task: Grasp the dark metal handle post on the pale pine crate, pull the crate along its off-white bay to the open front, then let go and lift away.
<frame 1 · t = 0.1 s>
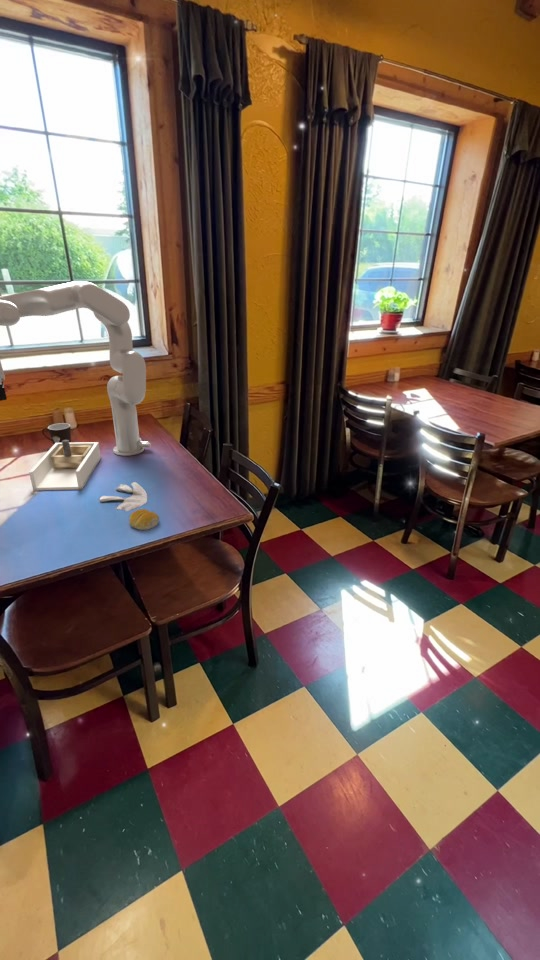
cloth: (123, 497, 153), on the table
coffee mug: (61, 448, 189), on the table
bay: (69, 473, 167), on the table
crate: (71, 450, 169), point 7 cm above the table, slide at 0.0 cm
bread roll: (144, 523, 137), on the table
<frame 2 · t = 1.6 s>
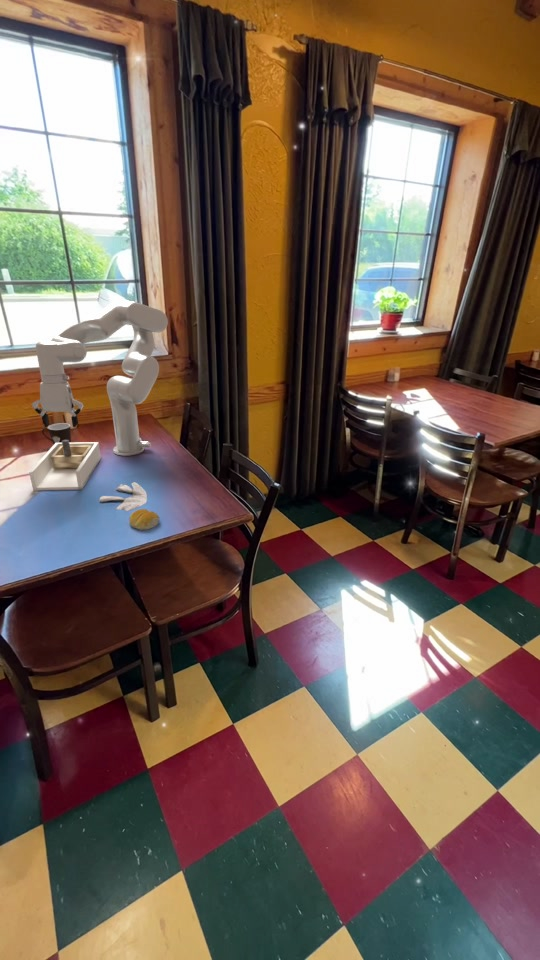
hand: (61, 426, 160), 18 cm above the table, tool pointing down, fingers open, 9 cm apart
nothing on the table moved.
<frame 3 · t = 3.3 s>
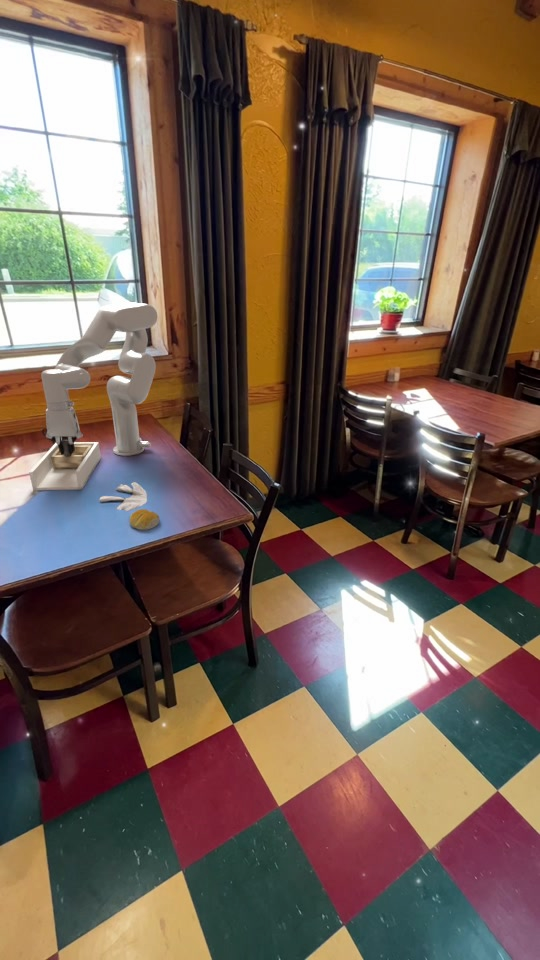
hand: (67, 452, 165), 8 cm above the table, tool pointing down, fingers closed on crate, 2 cm apart
crate: (71, 450, 169), point 7 cm above the table, slide at 0.0 cm, touching gripper
everything else where it was.
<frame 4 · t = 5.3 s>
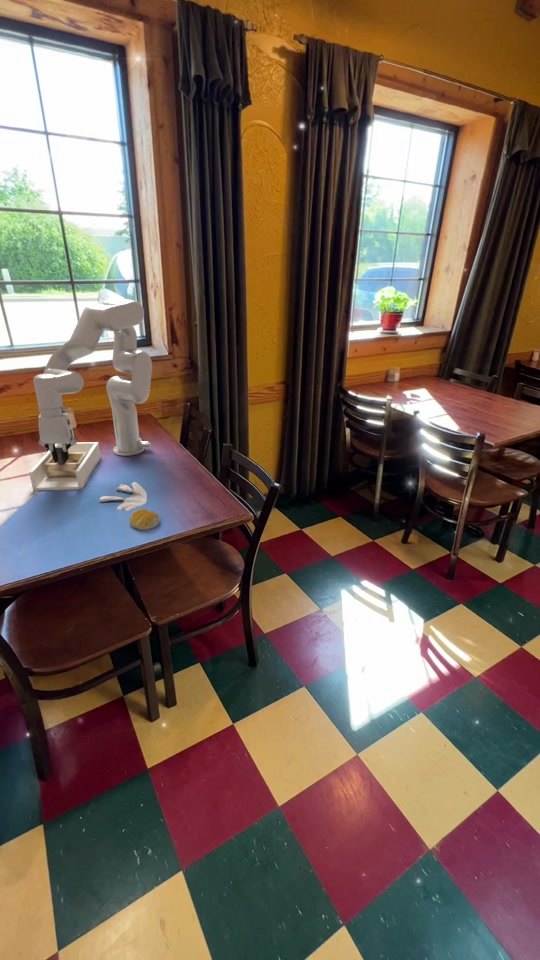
hand: (61, 460, 158), 8 cm above the table, tool pointing down, fingers closed on crate, 2 cm apart
crate: (65, 457, 163), point 7 cm above the table, slide at 7.2 cm, touching gripper
everything else where it was.
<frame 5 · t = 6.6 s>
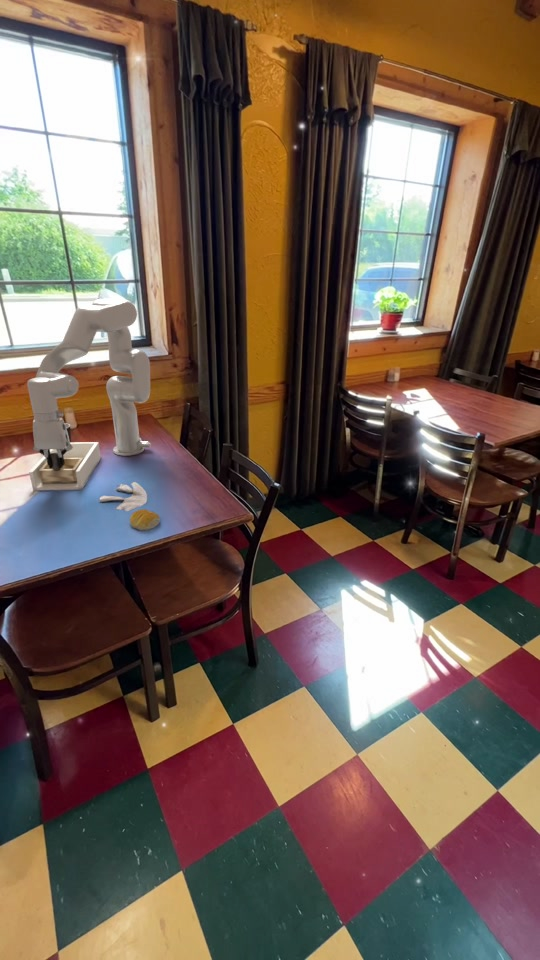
hand: (56, 466, 154), 8 cm above the table, tool pointing down, fingers closed on crate, 2 cm apart
crate: (61, 462, 158), point 7 cm above the table, slide at 12.4 cm, touching gripper
everything else where it was.
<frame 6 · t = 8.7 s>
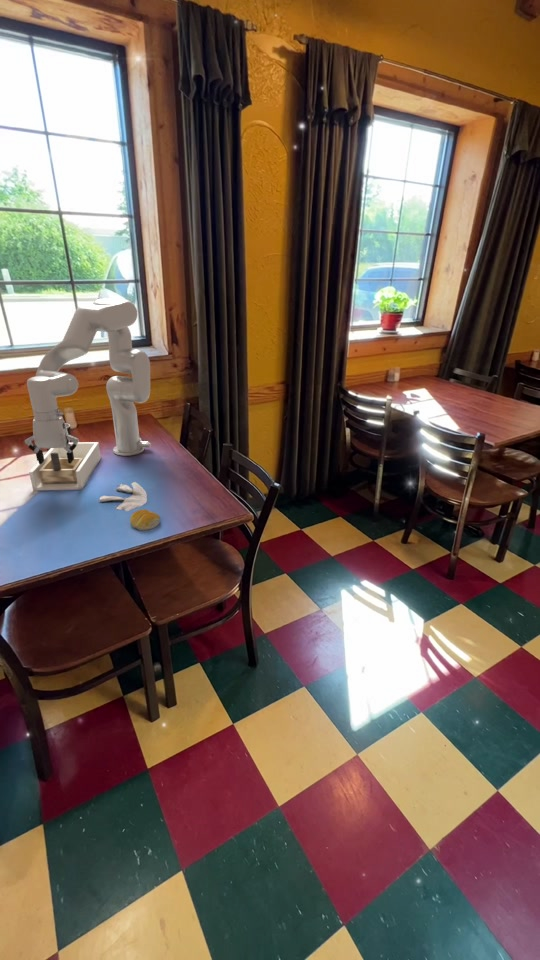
hand: (56, 462, 153), 9 cm above the table, tool pointing down, fingers open, 9 cm apart
crate: (61, 463, 158), point 7 cm above the table, slide at 12.5 cm
everything else where it was.
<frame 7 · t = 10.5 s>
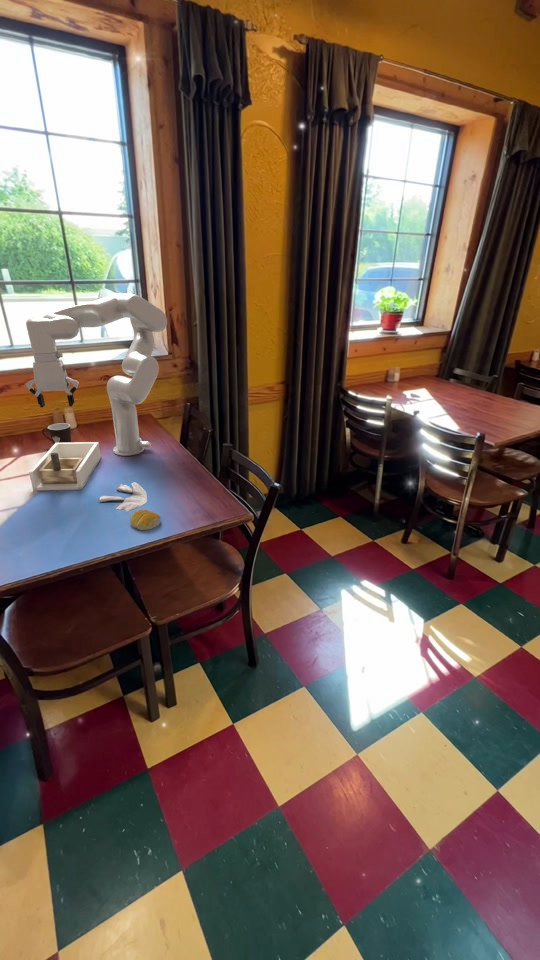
hand: (57, 405, 157), 26 cm above the table, tool pointing down, fingers open, 9 cm apart
nothing on the table moved.
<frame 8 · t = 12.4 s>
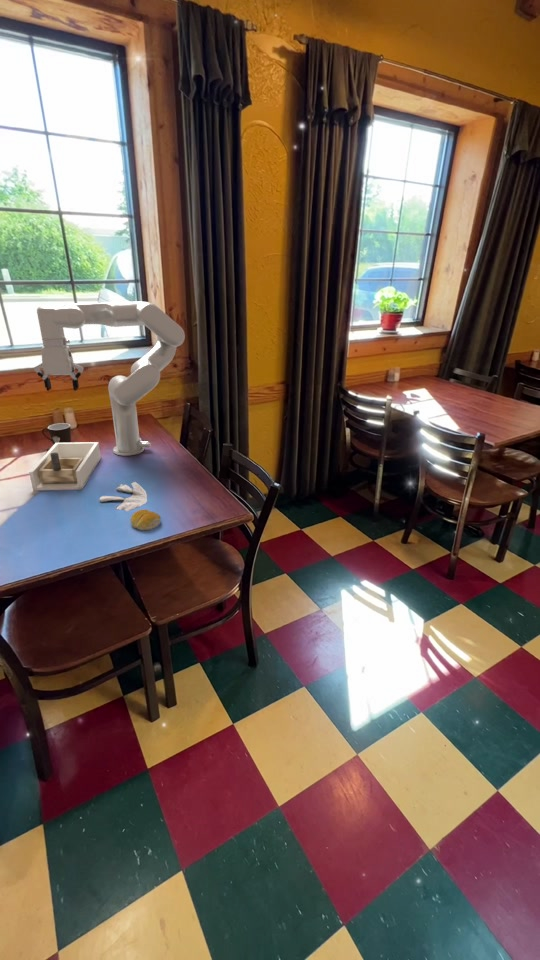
hand: (62, 389, 167), 28 cm above the table, tool pointing down, fingers open, 9 cm apart
nothing on the table moved.
at the end: crate slide at 12.5 cm; the gripper is holding nothing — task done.
